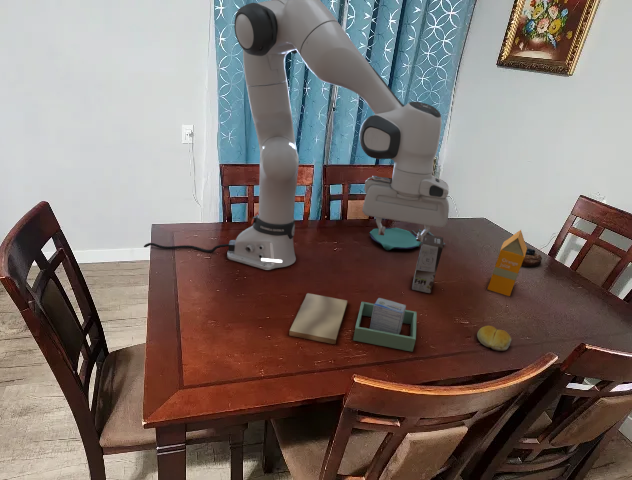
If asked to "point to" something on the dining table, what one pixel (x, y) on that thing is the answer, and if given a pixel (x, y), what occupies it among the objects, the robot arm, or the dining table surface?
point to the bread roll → (494, 338)
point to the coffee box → (427, 263)
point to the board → (319, 318)
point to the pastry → (531, 258)
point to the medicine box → (387, 316)
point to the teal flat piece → (396, 238)
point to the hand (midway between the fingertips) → (400, 237)
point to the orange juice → (508, 264)
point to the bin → (385, 337)
